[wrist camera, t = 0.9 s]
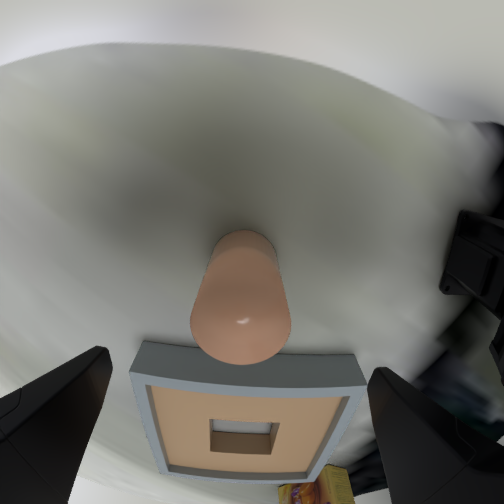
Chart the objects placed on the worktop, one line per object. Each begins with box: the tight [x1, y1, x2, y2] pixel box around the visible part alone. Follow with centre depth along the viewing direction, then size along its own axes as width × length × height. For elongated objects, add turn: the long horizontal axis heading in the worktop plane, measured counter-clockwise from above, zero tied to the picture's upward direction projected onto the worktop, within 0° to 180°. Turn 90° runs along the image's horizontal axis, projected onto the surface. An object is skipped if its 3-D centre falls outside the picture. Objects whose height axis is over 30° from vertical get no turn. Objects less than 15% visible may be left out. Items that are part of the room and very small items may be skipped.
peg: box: [190, 230, 291, 365], centre depth 14 cm, size 4×4×7 cm
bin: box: [129, 341, 368, 484], centre depth 21 cm, size 16×16×4 cm
